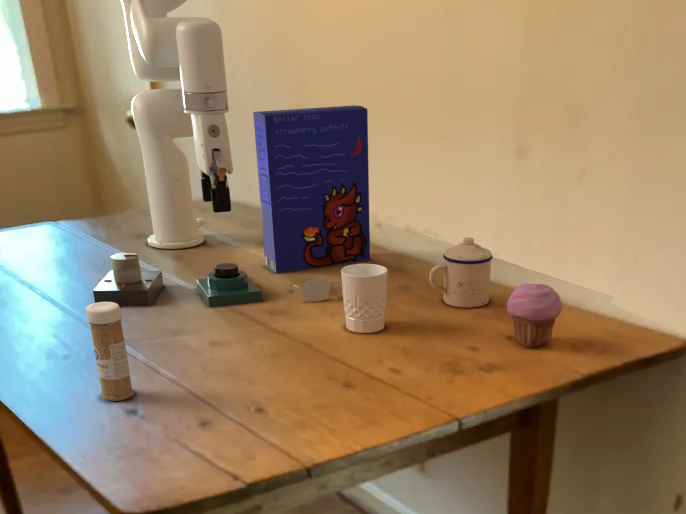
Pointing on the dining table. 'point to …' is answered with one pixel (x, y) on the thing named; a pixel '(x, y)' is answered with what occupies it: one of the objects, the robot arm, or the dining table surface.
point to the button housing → (228, 290)
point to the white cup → (364, 297)
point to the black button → (226, 270)
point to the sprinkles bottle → (110, 350)
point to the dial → (126, 268)
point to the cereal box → (313, 186)
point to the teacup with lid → (465, 275)
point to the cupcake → (534, 313)
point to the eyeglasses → (318, 289)
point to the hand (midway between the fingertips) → (217, 206)
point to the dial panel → (130, 290)
